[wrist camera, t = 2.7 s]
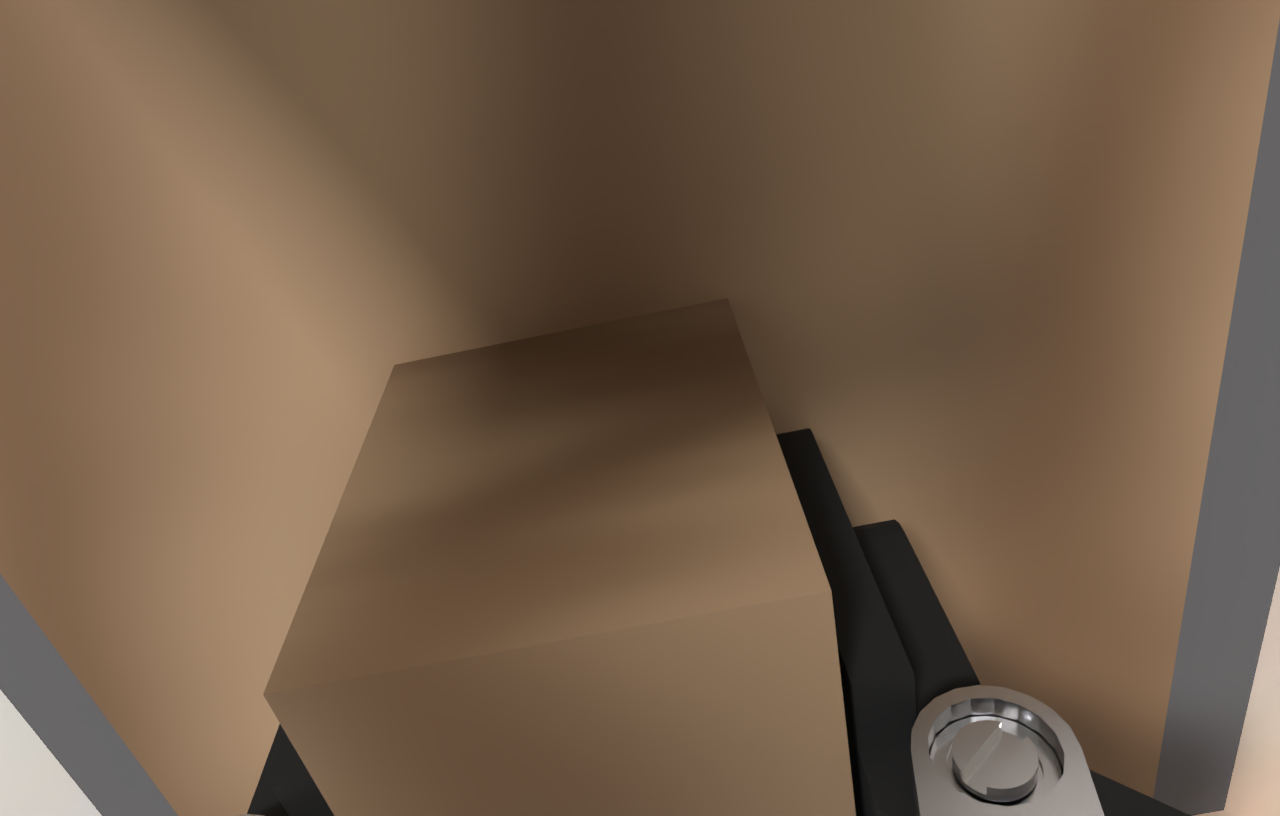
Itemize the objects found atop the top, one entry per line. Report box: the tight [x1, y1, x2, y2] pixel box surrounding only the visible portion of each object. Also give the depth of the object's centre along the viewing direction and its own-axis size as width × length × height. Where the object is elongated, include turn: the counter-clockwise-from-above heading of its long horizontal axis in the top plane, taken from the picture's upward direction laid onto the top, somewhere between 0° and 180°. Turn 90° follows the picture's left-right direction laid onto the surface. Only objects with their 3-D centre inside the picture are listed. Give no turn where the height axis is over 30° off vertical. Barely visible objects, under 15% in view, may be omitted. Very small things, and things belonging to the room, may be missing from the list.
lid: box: [0, 0, 1280, 816], centre depth 10 cm, size 16×16×6 cm
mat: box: [0, 19, 1280, 816], centre depth 13 cm, size 20×20×1 cm
